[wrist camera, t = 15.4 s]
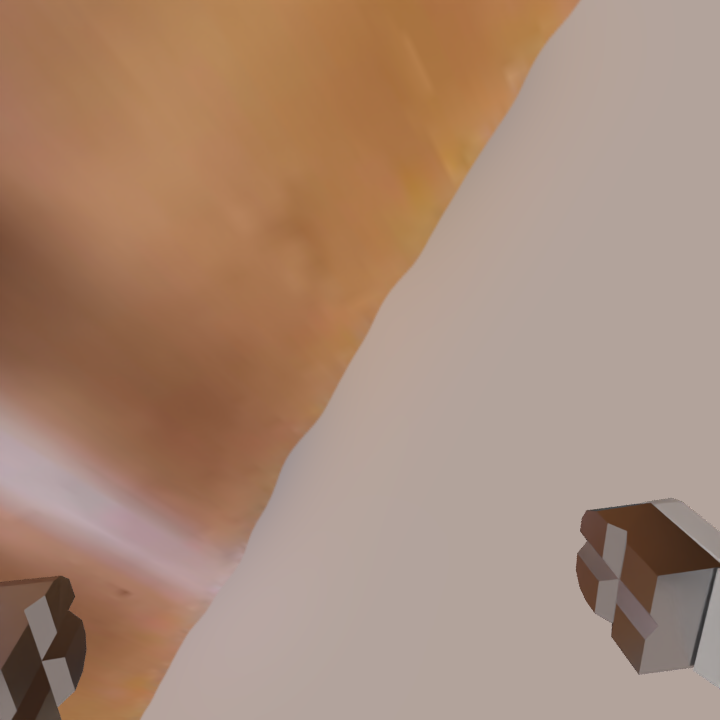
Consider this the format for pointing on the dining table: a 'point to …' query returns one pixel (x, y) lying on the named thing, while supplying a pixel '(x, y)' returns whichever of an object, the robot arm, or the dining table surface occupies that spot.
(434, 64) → the dining table surface
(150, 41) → the dining table surface
